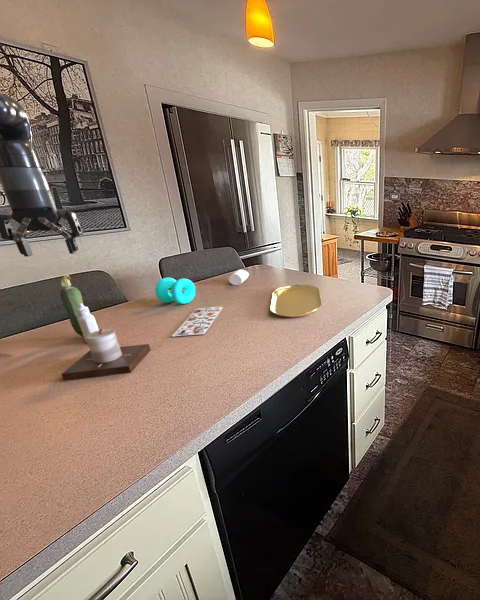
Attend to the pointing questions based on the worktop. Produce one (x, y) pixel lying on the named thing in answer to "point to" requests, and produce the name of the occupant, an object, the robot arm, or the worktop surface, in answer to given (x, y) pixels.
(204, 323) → the paper towel
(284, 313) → the serving platter
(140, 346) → the holder
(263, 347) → the worktop surface
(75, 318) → the vegetable
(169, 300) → the donuts
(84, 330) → the eye dropper bottle
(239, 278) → the roll
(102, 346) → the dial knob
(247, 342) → the worktop surface
